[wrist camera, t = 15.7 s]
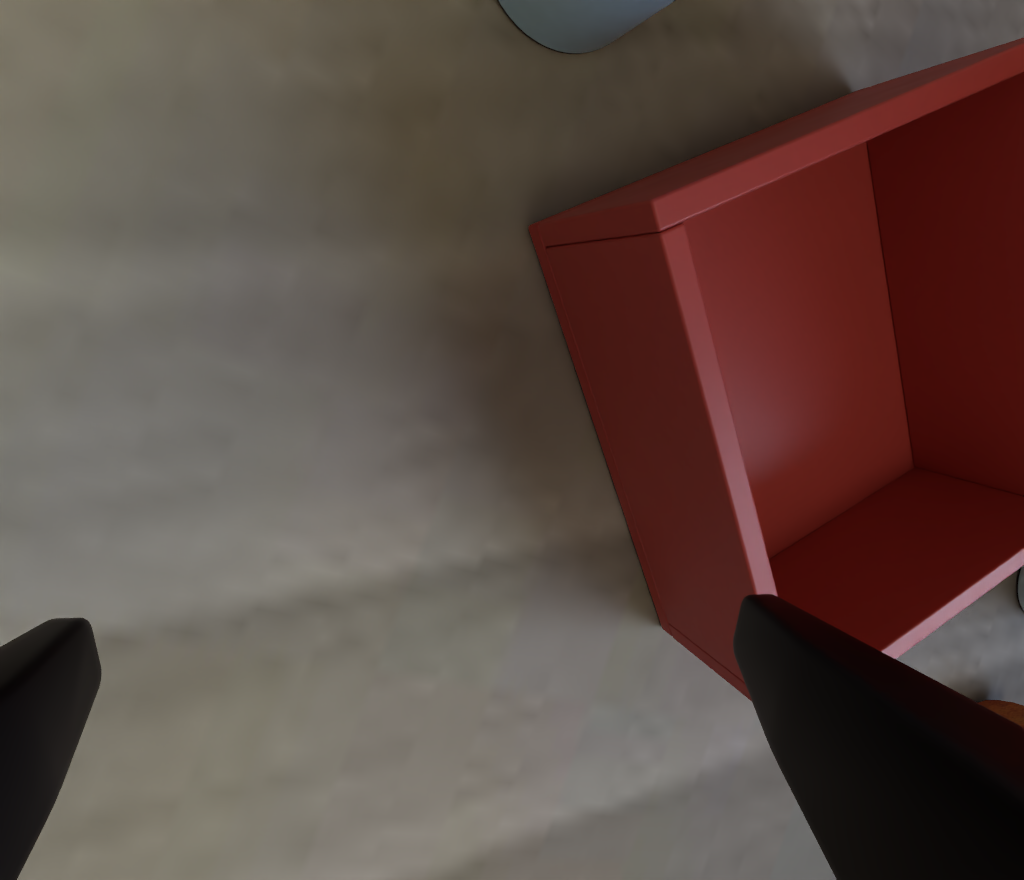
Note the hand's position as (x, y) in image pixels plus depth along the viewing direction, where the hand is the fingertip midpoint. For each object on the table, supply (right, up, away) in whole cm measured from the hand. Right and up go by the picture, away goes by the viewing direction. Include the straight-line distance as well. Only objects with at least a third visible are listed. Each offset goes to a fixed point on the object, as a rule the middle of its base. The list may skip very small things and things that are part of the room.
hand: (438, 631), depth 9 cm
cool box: (+10, +5, +15) cm, 18 cm away
